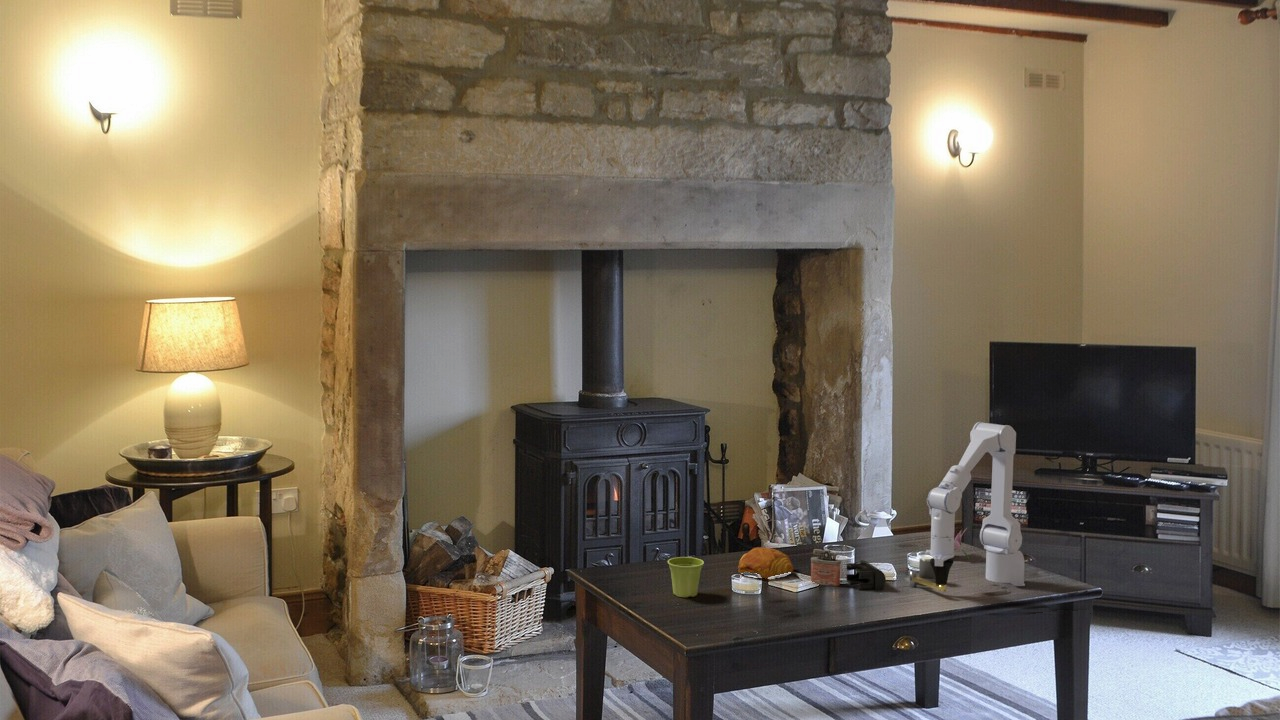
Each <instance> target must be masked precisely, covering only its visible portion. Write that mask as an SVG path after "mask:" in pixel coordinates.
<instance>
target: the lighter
mask: <svg viewBox="0 0 1280 720" xmlns="http://www.w3.org/2000/svg"><path fill="white" fill-rule="evenodd" d="M813 555H817V556H811V558H810V562H811V564H810V566H811V567H810V568H811V569H810V582H811V581H812V582H815V583H817V584H816V585H822V586H830V587H831V586H832V587H839V586H840V585H841V564H842V560H841V559H837V555H838V554H837V552H836V551H831V549H826V550H823V549H819V548H814V549H813ZM815 583H814V584H815Z"/></svg>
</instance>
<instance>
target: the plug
mask: <svg viewBox="0 0 1280 720" xmlns="http://www.w3.org/2000/svg"><path fill="white" fill-rule="evenodd" d="M932 558H933V557H932V556H921V557H920V559H919V562H918V563H919V566H918V567H919V568H918V570H919V571H918V572H917V577H920V578H922V579H925V580H928V581H930V582H933V583H935V584H936V580H935V574H934V571H933V568H932V566H931V564H930V560H931V559H932ZM917 585H920V586H926V585H923V584H920V583H918V582H917ZM927 587H928V586H927Z"/></svg>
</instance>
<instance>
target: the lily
mask: <svg viewBox="0 0 1280 720" xmlns="http://www.w3.org/2000/svg"><path fill="white" fill-rule="evenodd" d="M968 528H969V527H966V528H965V529H964V530H963V531H962V530H960V531H959V532H958V533H957V535H956V536H954V551H955V550H961V551H962V552H963V553H964V555H965V557H966V558H967V560H968V561H970V558H969V556H968V554H967V552H966V551H965V550H964V549H963V548H962V536H963V534H964V533H965V531H966V530H967V529H968Z"/></svg>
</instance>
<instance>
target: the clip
mask: <svg viewBox="0 0 1280 720" xmlns="http://www.w3.org/2000/svg"><path fill="white" fill-rule="evenodd" d="M917 573H918V571H917V570H909V578H910V583H909V587H910V588H916V587H917V582H918V583H920V584H923V585H926V586H928V587H930V588H931V589H933V590H936V591H938V592H944V593H945V592H947V587H946V585H944V584H939V585H938V584H935V583H933V582H930V581H928V580H925V579H922V578H920V577H917Z"/></svg>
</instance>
